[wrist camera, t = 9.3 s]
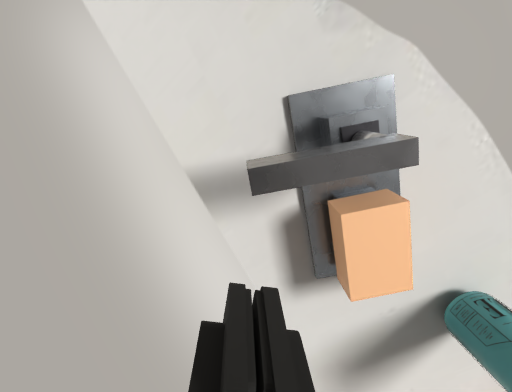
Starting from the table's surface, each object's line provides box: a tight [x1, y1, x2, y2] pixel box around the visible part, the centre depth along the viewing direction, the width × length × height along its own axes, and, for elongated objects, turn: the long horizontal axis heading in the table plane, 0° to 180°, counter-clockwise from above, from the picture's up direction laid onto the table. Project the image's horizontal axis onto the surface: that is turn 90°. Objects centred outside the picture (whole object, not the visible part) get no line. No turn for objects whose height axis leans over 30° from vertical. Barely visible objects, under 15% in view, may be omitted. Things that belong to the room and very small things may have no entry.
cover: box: [328, 189, 413, 302], centre depth 28 cm, size 9×6×4 cm, turn 11°
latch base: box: [288, 74, 400, 279], centre depth 29 cm, size 20×10×4 cm, turn 11°
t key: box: [246, 131, 419, 196], centre depth 22 cm, size 11×2×6 cm, turn 100°
